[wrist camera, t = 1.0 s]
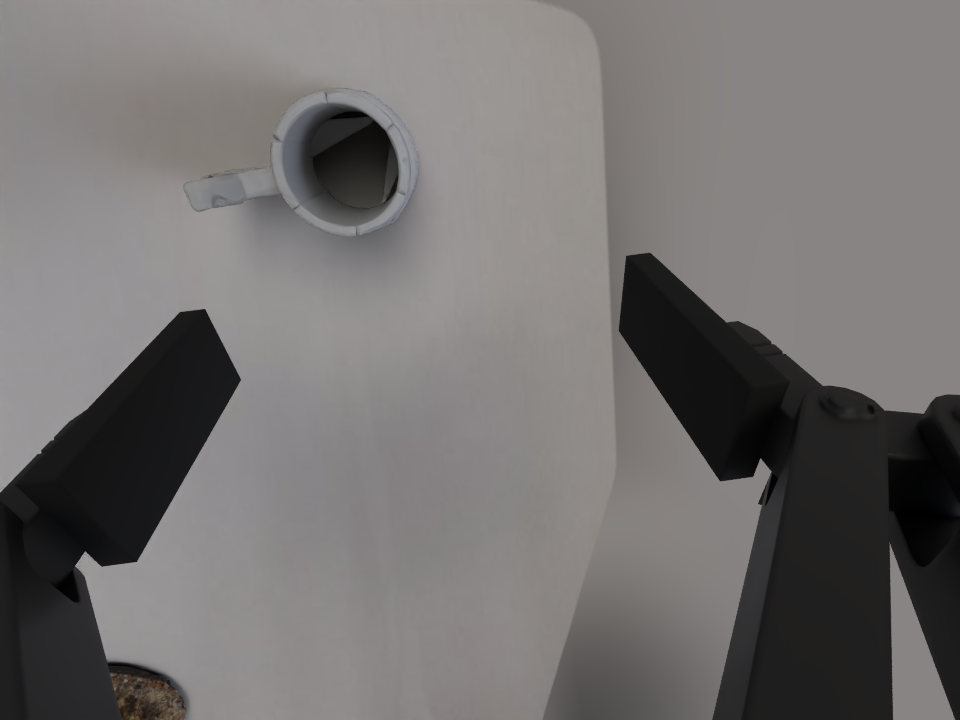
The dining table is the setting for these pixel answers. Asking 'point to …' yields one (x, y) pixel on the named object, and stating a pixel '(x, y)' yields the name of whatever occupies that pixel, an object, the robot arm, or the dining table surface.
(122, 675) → the cactus
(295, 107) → the mug
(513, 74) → the dining table surface
